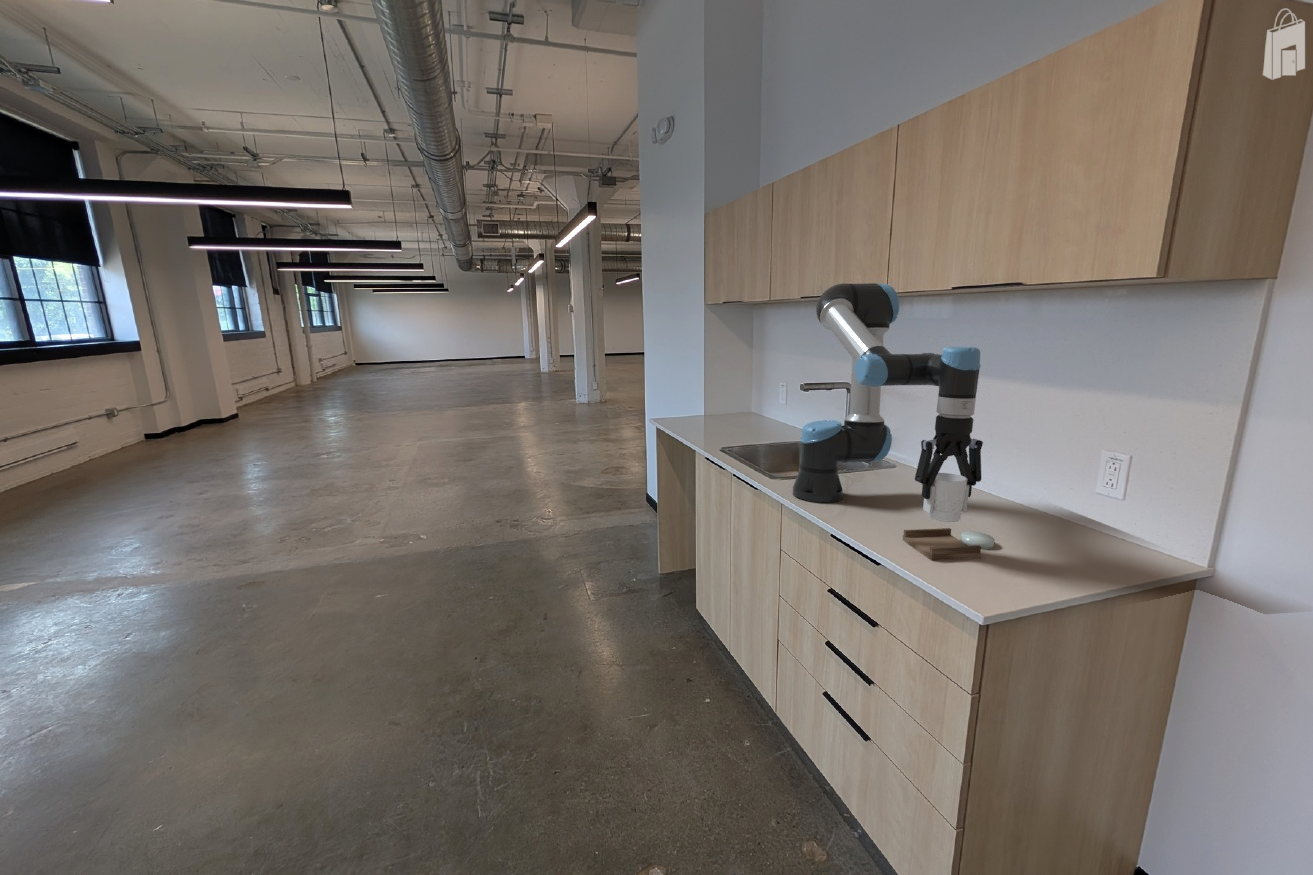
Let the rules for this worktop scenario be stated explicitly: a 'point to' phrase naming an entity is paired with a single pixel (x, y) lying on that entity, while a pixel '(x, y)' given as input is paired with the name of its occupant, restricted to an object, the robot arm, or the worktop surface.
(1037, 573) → the worktop surface
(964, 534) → the pale mint domed disc
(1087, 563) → the worktop surface
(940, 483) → the white cup
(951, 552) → the stand
